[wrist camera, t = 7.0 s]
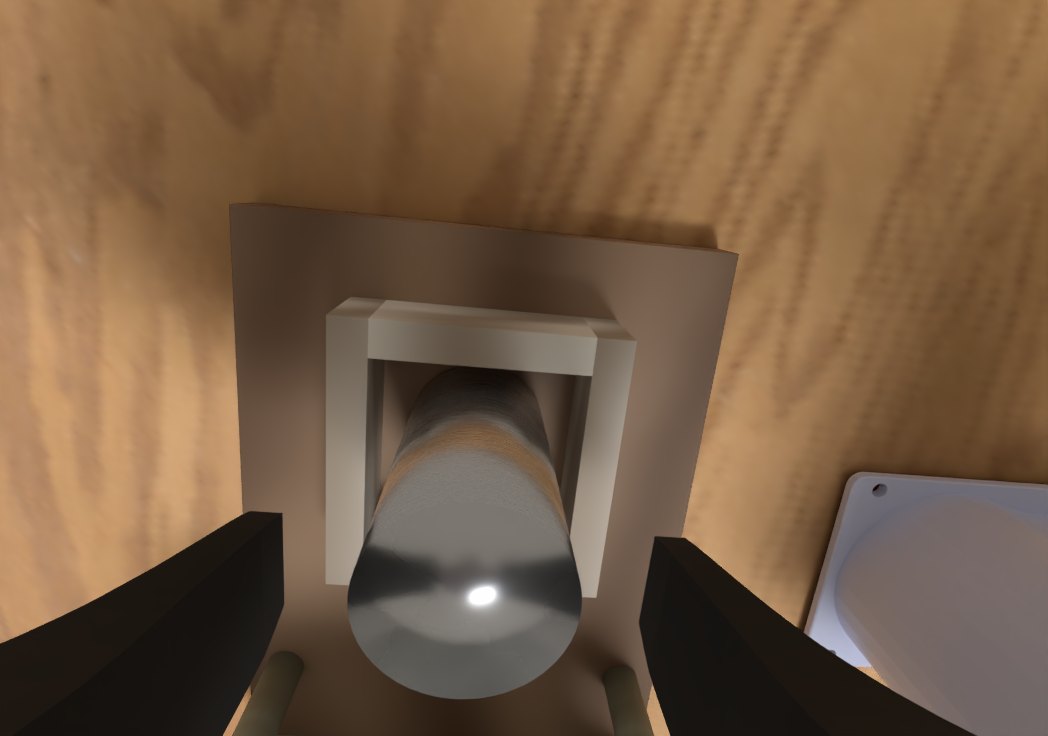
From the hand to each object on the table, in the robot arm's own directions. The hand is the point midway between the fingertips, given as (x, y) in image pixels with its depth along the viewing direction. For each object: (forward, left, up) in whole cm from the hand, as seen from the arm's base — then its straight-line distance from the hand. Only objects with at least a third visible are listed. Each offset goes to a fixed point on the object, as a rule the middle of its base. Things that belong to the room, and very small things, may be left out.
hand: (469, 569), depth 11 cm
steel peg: (0, 0, -7) cm, 7 cm away
